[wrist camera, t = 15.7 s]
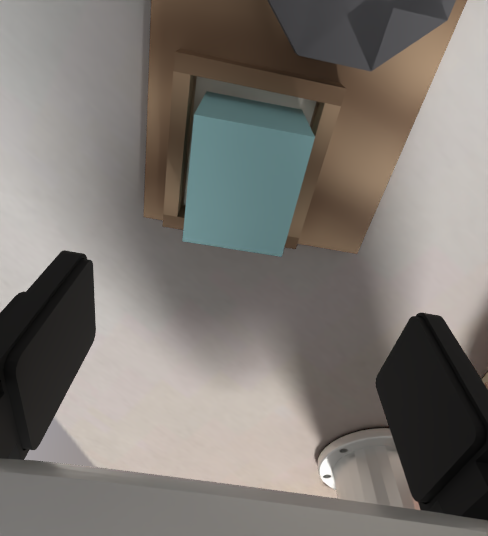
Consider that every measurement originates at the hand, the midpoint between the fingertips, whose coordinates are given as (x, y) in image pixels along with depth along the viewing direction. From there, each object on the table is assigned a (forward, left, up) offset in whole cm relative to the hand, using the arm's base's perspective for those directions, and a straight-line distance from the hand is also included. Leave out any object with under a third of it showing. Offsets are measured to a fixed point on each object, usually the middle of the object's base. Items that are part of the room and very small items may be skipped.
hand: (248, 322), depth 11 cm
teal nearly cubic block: (+1, 0, -13) cm, 13 cm away
